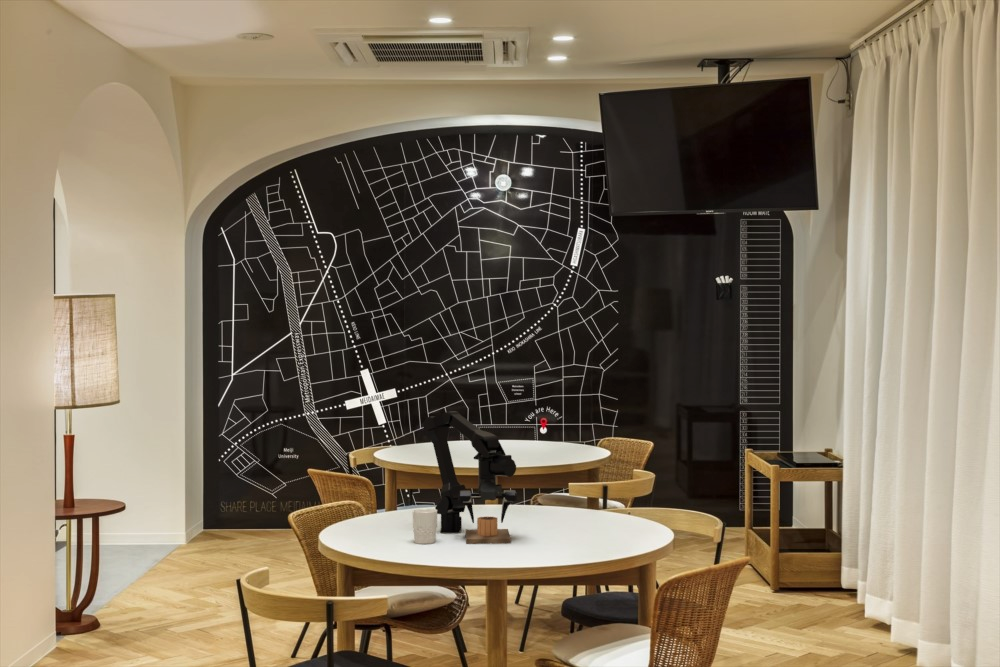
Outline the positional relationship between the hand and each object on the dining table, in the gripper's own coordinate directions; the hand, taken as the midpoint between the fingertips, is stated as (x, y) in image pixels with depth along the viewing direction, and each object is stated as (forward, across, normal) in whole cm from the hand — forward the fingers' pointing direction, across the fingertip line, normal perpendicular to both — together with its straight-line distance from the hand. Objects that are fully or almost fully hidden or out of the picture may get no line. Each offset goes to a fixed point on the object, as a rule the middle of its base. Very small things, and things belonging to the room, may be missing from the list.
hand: (487, 522), depth 311 cm
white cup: (+5, -20, -4) cm, 21 cm away
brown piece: (+5, 0, 0) cm, 5 cm away
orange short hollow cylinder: (+4, 0, 0) cm, 4 cm away
